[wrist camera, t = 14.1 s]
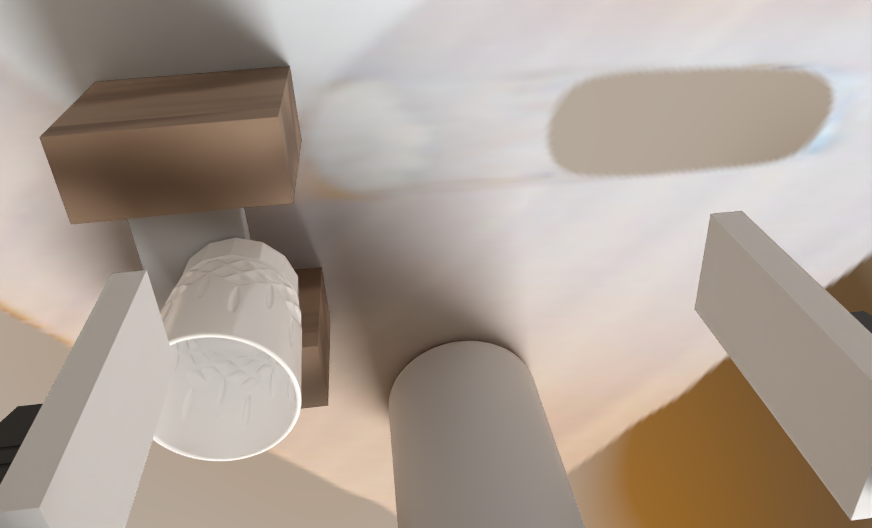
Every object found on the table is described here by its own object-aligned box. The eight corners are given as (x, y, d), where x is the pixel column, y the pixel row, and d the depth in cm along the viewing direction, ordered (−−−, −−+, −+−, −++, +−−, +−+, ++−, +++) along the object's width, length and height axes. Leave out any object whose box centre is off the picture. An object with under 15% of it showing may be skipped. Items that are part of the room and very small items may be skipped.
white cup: (279, 356, 45) (265, 478, 36) (154, 314, 42) (106, 436, 34) (330, 257, 42) (327, 366, 33) (197, 206, 39) (157, 310, 30)
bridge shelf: (95, 81, 44) (39, 137, 36) (289, 65, 45) (278, 116, 37) (173, 338, 55) (143, 426, 46) (330, 322, 55) (328, 405, 47)
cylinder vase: (358, 409, 60) (366, 721, 39) (453, 310, 56) (521, 600, 35) (467, 467, 65) (526, 772, 44) (562, 380, 61) (679, 671, 40)
